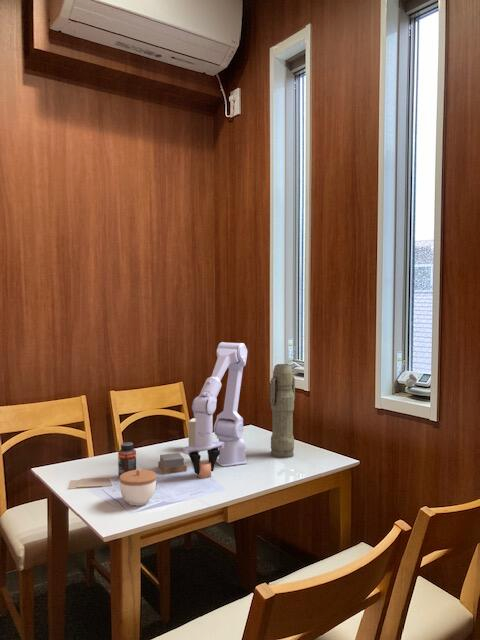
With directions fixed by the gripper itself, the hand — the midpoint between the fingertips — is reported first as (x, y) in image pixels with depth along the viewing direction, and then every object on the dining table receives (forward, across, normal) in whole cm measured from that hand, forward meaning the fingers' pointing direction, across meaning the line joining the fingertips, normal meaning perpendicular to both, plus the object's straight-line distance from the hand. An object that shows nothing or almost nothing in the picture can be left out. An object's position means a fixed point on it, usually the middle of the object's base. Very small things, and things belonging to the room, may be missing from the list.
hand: (204, 471), depth 168 cm
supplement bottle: (+2, +23, -12) cm, 26 cm away
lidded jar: (+2, +26, +10) cm, 28 cm away
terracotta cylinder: (+1, 0, 0) cm, 1 cm away
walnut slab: (+2, +6, -12) cm, 14 cm away
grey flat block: (-1, +7, -12) cm, 14 cm away
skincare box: (+2, -11, -29) cm, 31 cm away
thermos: (+2, -37, -6) cm, 38 cm away
